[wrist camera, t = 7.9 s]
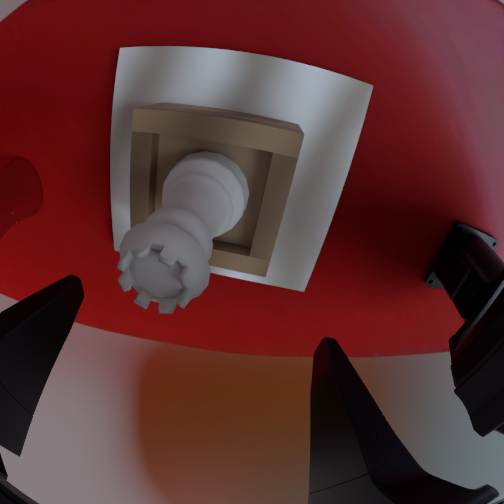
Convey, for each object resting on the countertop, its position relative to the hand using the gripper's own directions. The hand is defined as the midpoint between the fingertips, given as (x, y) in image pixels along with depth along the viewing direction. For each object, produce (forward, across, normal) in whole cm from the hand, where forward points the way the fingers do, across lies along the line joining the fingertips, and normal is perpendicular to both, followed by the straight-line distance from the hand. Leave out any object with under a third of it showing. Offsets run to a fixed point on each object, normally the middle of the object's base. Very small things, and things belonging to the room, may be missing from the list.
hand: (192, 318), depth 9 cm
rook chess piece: (+8, +1, -1) cm, 8 cm away
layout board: (+12, +2, -1) cm, 12 cm away
